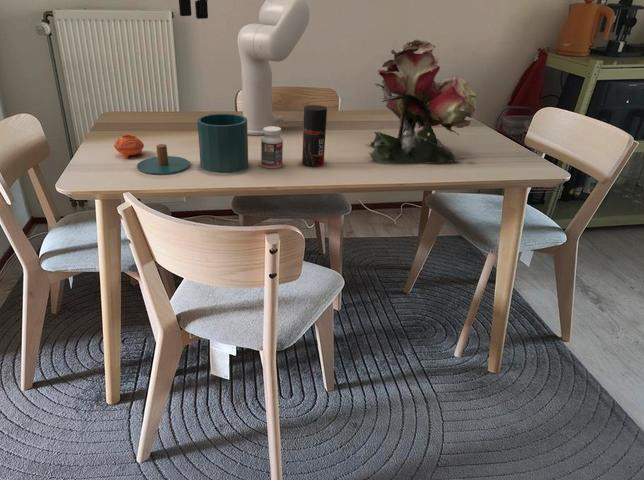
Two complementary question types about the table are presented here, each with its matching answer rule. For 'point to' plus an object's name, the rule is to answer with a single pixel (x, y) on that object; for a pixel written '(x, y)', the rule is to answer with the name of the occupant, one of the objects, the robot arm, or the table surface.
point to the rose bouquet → (420, 106)
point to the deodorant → (314, 135)
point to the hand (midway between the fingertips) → (193, 17)
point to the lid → (163, 163)
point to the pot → (128, 145)
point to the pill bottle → (271, 147)
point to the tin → (223, 142)
